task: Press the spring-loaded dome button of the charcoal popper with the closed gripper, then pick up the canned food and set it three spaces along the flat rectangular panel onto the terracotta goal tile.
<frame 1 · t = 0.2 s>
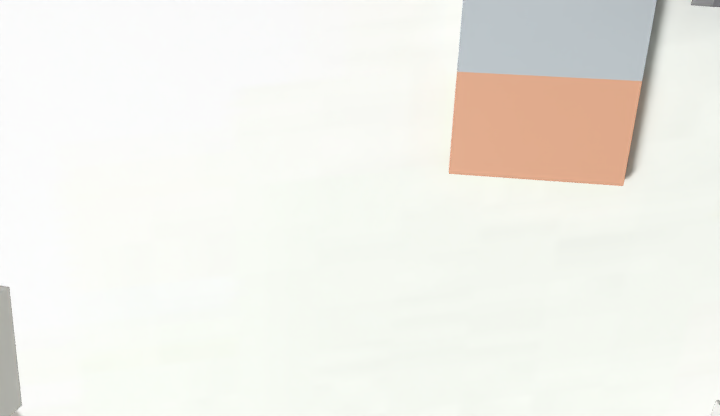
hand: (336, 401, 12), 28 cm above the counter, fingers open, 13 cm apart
flat rectangular panel: (553, 19, 35), on the counter
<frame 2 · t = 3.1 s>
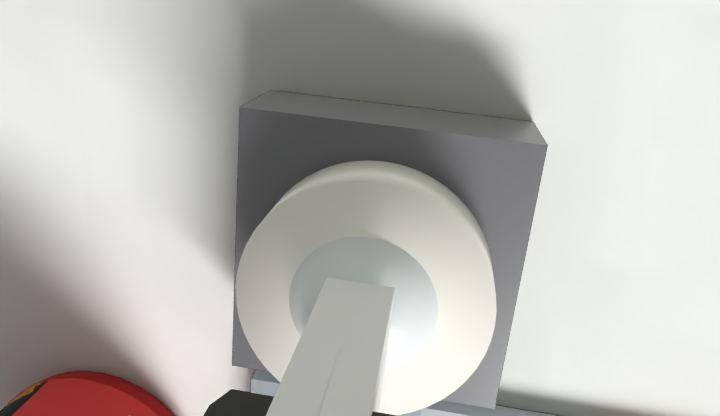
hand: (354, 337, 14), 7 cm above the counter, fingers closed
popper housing: (385, 228, 20), on the counter
dome button: (370, 279, 17), point 4 cm above the counter, slide at -1.9 cm, touching gripper
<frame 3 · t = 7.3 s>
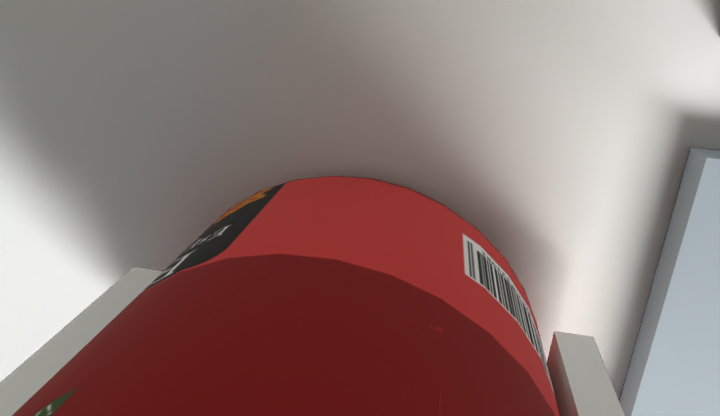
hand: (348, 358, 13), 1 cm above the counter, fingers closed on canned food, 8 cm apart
canned food: (358, 322, 15), on the counter, touching gripper
when the fingers open (3 cm above the counter, at t = 12.4 s): canned food drops 1 cm, resting on flat rectangular panel.
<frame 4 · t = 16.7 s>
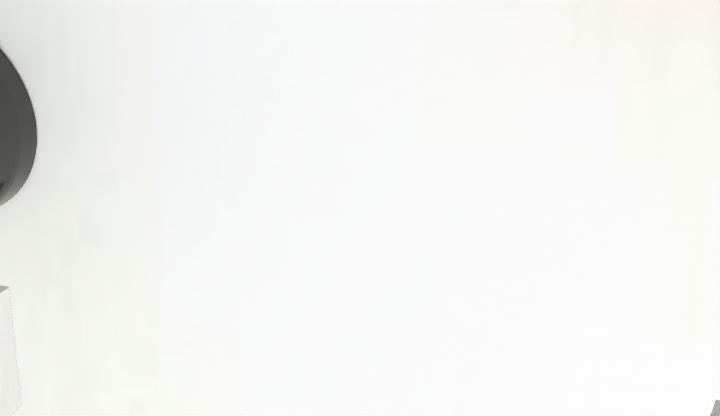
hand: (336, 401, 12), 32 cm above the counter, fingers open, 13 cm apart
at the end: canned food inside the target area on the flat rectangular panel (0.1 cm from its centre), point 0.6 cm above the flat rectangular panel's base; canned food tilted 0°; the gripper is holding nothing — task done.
